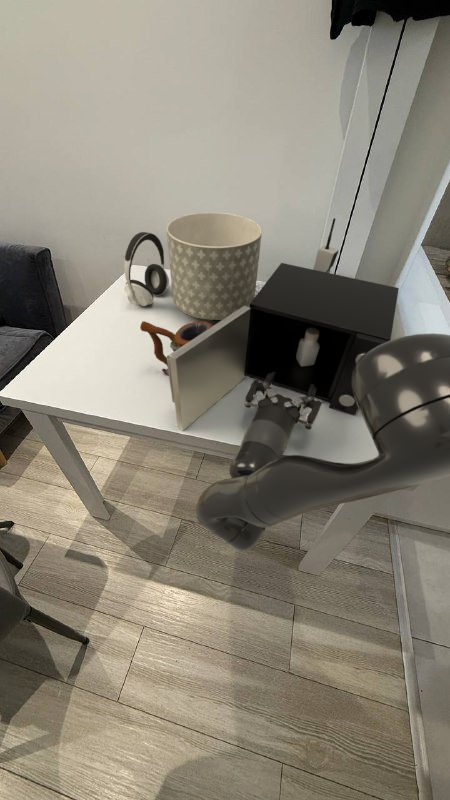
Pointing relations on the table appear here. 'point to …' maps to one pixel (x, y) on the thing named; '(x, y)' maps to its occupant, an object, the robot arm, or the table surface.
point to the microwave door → (208, 366)
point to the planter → (213, 263)
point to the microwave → (329, 313)
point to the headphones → (153, 275)
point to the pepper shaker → (308, 348)
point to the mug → (173, 337)
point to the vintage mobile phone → (326, 255)
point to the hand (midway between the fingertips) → (292, 380)
